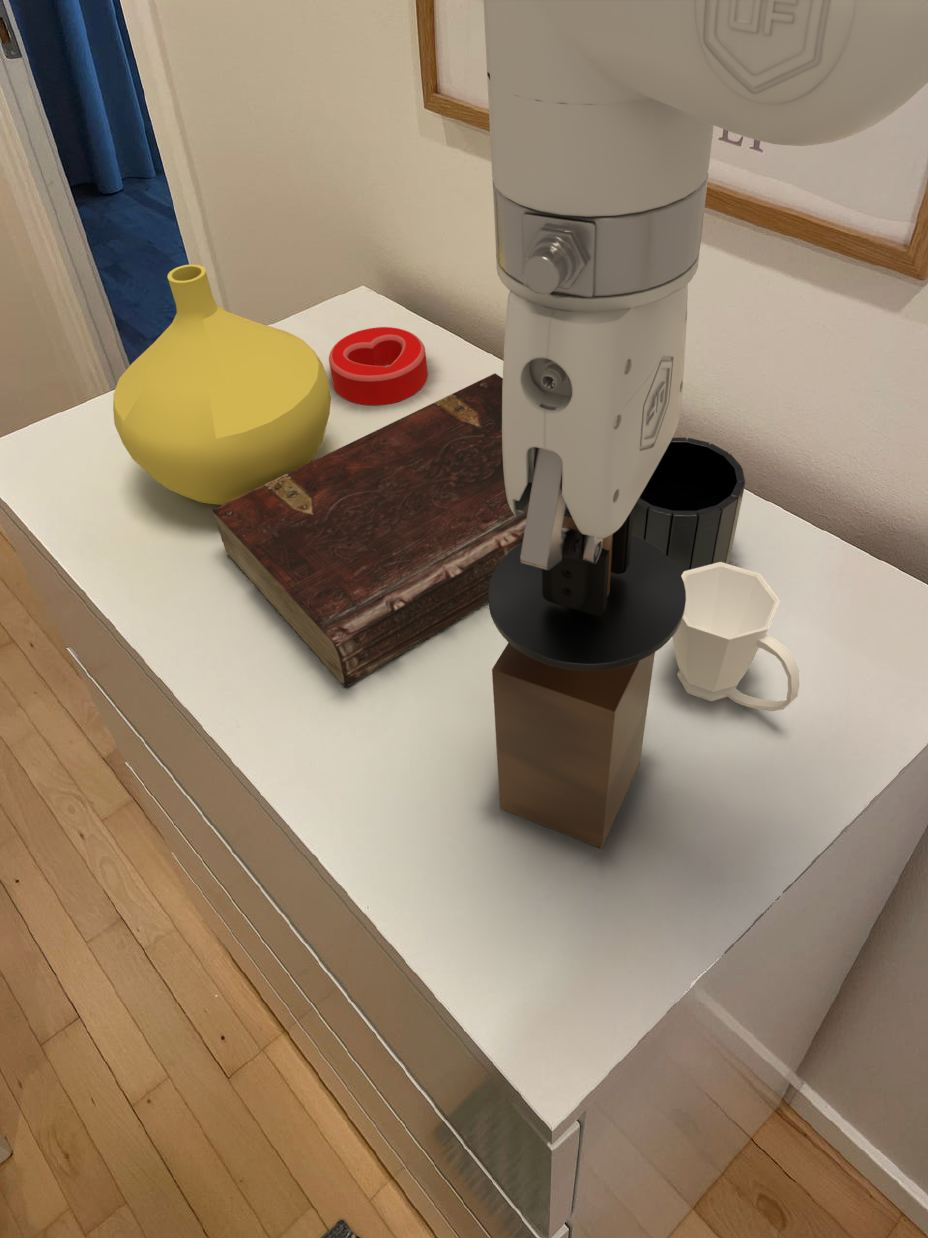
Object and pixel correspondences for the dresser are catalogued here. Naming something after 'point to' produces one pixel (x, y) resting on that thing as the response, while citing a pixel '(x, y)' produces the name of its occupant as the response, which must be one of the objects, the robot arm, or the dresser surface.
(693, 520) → the dark grey slatted bucket
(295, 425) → the vase
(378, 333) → the decorative ornament
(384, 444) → the book
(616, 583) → the lid
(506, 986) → the dresser surface
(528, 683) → the stand
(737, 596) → the cup
